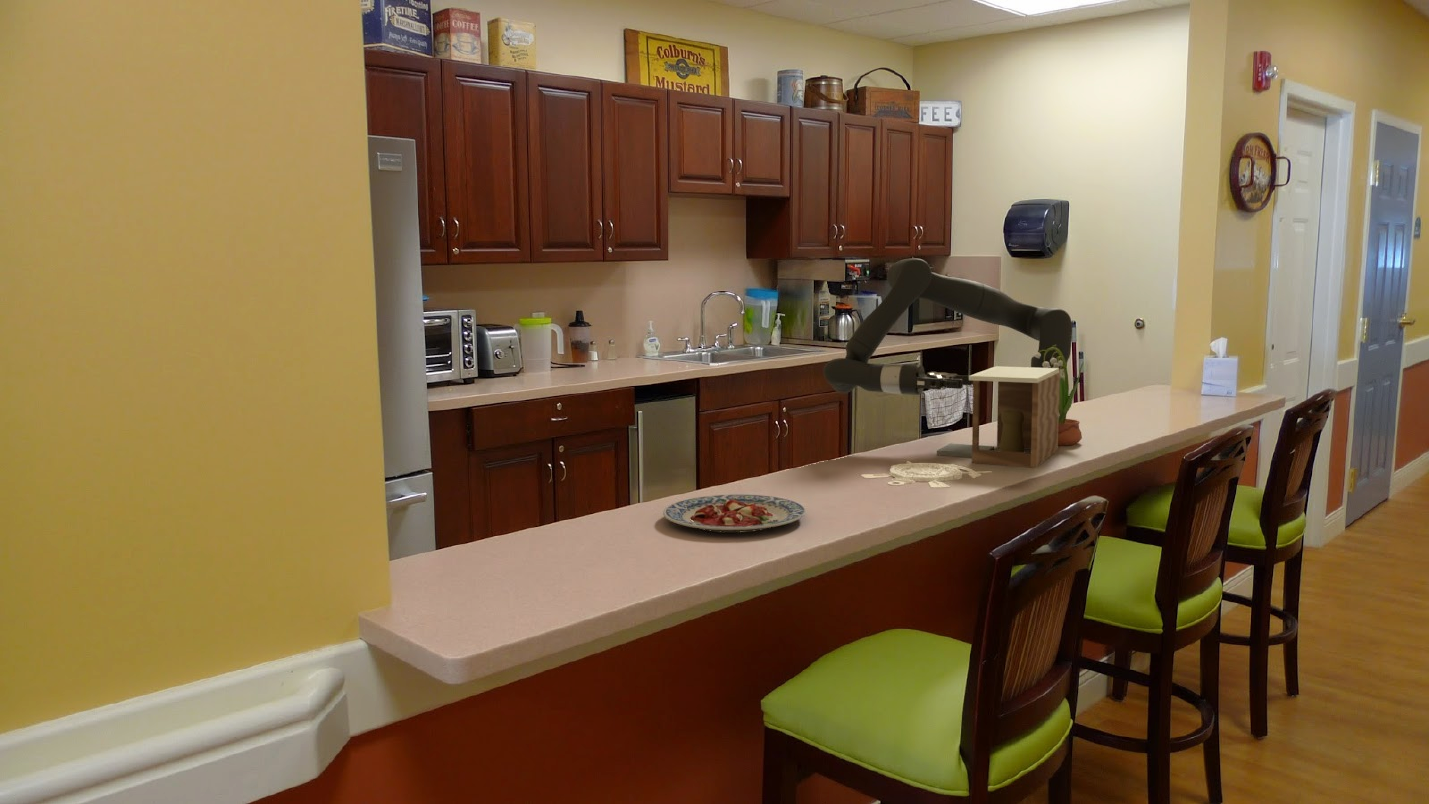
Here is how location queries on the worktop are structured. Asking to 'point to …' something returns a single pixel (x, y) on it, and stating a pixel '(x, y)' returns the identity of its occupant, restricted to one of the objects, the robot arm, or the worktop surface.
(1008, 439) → the cork
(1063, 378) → the potted flower
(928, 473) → the pendant
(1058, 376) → the wooden cabinet
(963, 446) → the slate mat
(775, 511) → the ceramic plate
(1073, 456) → the worktop surface
